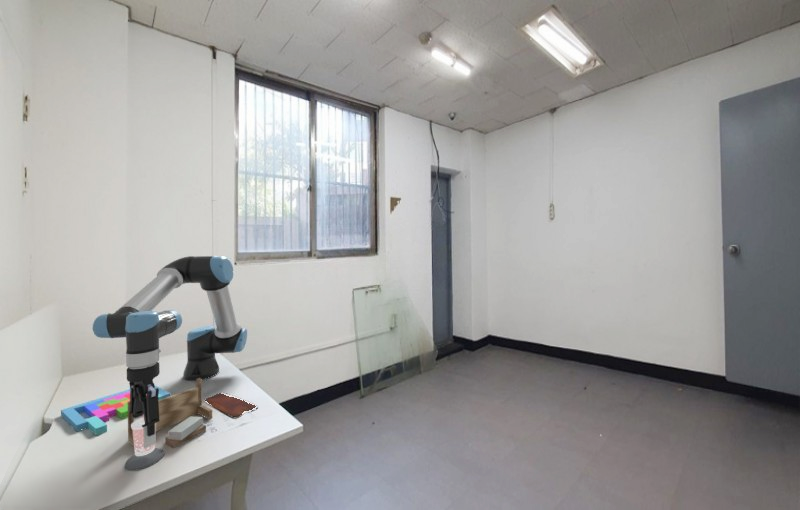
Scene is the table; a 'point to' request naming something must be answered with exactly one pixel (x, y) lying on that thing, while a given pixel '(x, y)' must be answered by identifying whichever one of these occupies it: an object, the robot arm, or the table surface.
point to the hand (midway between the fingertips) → (144, 441)
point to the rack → (176, 409)
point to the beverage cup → (140, 438)
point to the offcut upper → (185, 428)
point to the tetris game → (101, 411)
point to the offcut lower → (178, 442)
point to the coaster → (144, 460)
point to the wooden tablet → (229, 404)
